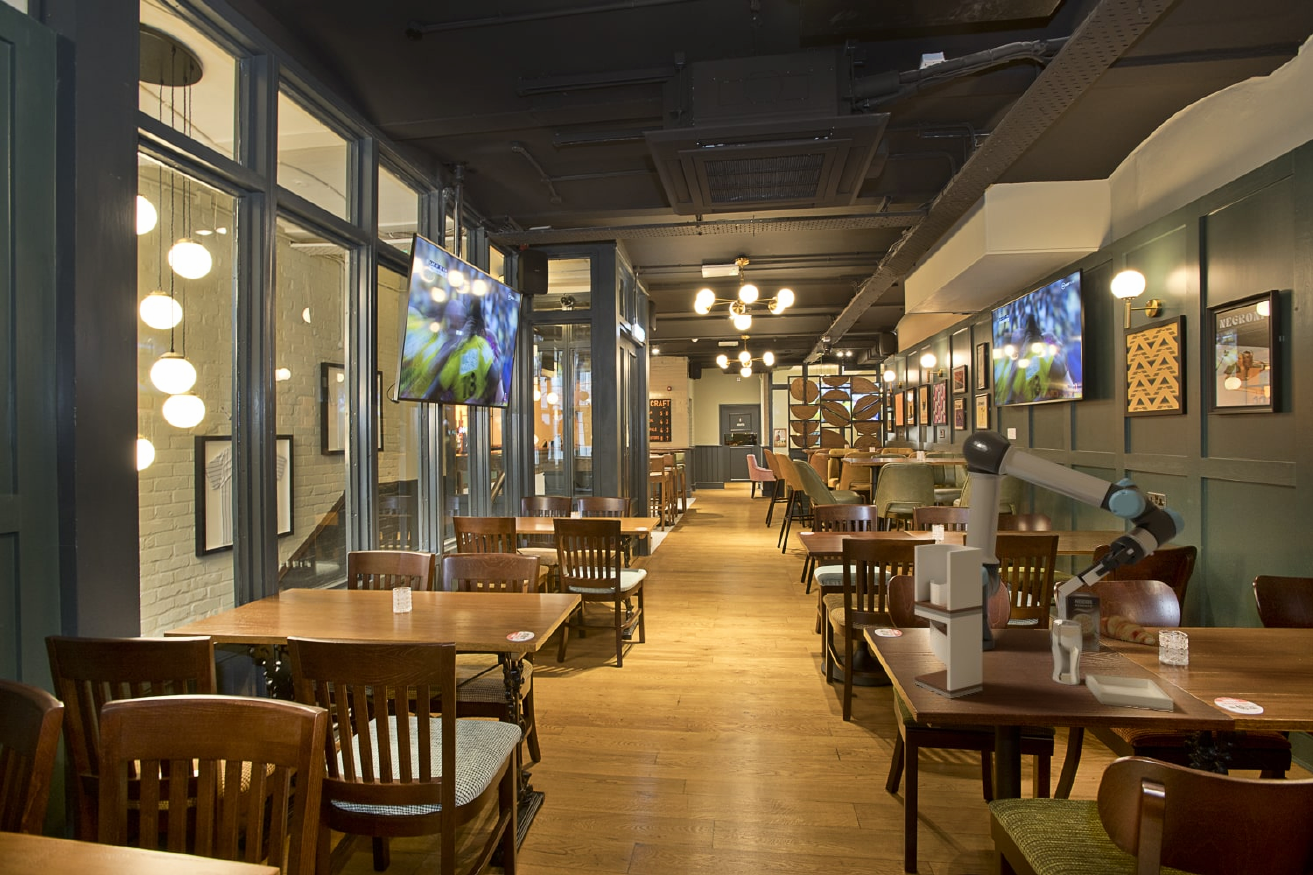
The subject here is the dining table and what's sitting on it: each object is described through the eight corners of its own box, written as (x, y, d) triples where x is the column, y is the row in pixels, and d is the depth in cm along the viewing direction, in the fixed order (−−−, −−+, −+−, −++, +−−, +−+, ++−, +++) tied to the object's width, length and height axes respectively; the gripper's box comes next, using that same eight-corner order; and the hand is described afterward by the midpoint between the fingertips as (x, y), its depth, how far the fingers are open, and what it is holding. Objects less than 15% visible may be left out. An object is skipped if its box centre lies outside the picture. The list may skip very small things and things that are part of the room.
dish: (1101, 704, 157) (1101, 692, 157) (1085, 683, 170) (1085, 672, 170) (1173, 712, 152) (1173, 700, 152) (1151, 690, 165) (1151, 679, 165)
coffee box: (1066, 650, 198) (1066, 595, 198) (1057, 643, 204) (1057, 590, 204) (1100, 651, 196) (1100, 597, 196) (1090, 645, 202) (1090, 592, 202)
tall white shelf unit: (946, 677, 174) (945, 542, 174) (982, 691, 165) (982, 548, 165) (914, 684, 169) (914, 545, 169) (950, 699, 160) (950, 552, 160)
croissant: (1161, 657, 202) (1170, 632, 203) (1142, 644, 199) (1150, 620, 200) (1093, 636, 222) (1101, 614, 223) (1074, 625, 219) (1083, 602, 220)
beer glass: (1087, 686, 168) (1087, 626, 168) (1056, 684, 169) (1056, 625, 170) (1075, 676, 175) (1075, 619, 175) (1046, 675, 176) (1046, 617, 176)
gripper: (1171, 545, 172) (1109, 588, 168) (1118, 569, 194) (1062, 607, 191) (1148, 521, 175) (1086, 563, 171) (1098, 547, 197) (1042, 585, 194)
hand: (1073, 587), depth 181 cm, fingers open, 13 cm apart
